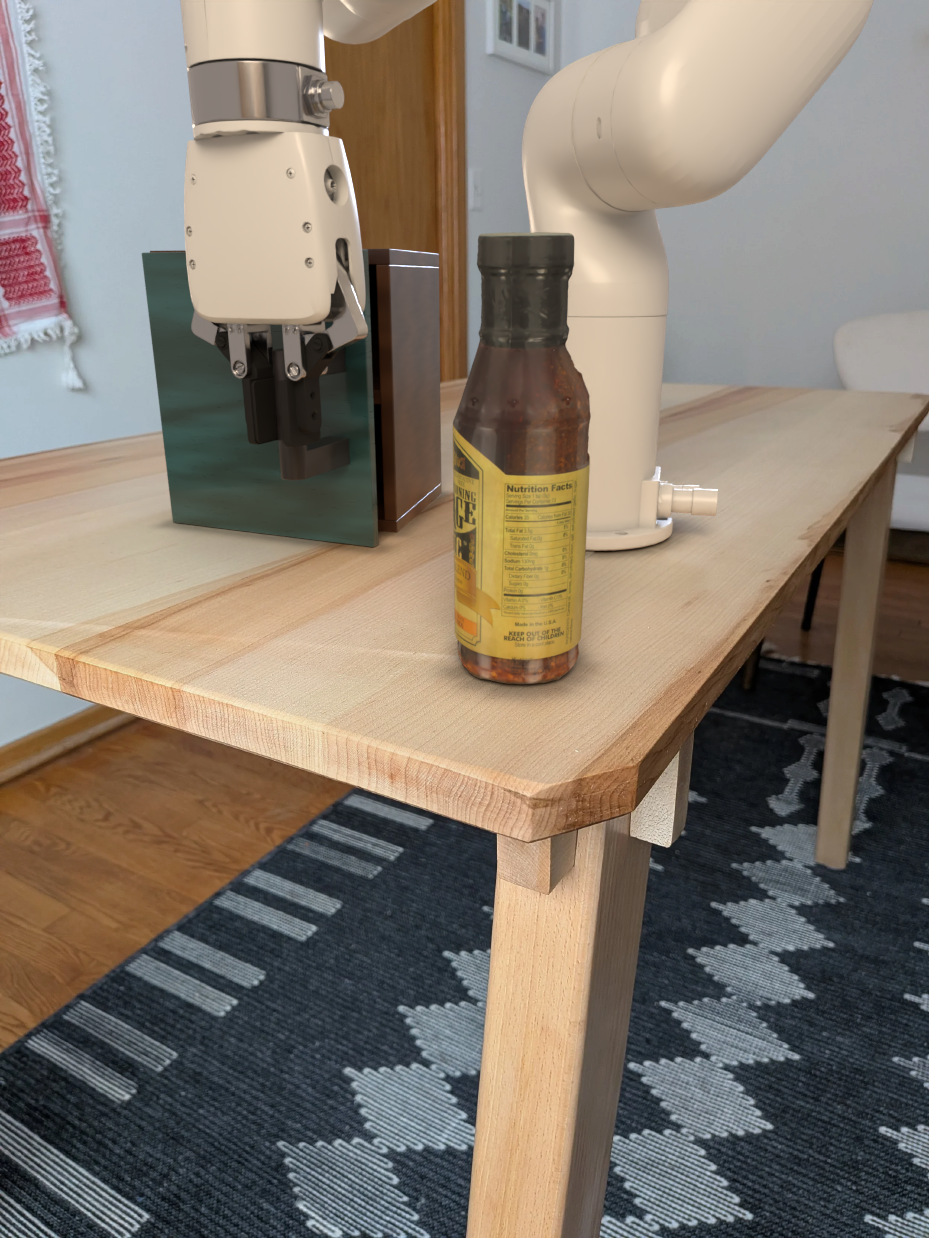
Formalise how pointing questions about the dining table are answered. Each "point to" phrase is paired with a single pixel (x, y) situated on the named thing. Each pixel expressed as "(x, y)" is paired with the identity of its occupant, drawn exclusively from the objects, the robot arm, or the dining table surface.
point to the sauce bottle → (521, 469)
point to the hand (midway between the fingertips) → (284, 440)
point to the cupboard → (404, 382)
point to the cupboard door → (218, 441)
